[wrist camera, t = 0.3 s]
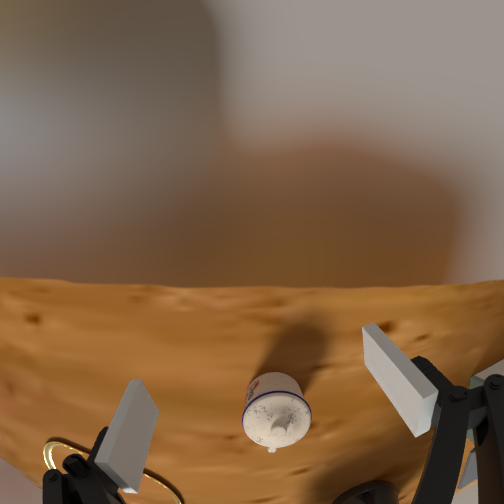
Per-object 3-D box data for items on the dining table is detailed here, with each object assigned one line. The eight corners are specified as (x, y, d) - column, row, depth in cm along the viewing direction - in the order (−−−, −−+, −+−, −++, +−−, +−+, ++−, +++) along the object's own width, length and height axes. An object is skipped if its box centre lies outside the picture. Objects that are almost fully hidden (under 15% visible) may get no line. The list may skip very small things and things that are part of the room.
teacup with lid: (245, 368, 41) (242, 399, 30) (304, 370, 41) (320, 400, 30) (242, 431, 40) (238, 473, 29) (296, 433, 40) (307, 473, 29)
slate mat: (493, 464, 37) (494, 466, 36) (457, 487, 37) (459, 489, 36) (505, 428, 38) (507, 429, 37) (469, 452, 38) (472, 453, 37)
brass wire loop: (39, 427, 41) (36, 429, 39) (183, 477, 40) (181, 482, 38) (56, 481, 39) (53, 483, 38) (185, 526, 39) (184, 531, 37)
